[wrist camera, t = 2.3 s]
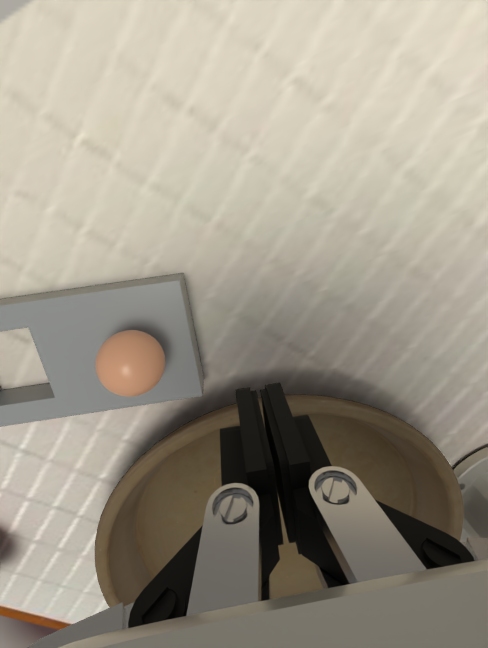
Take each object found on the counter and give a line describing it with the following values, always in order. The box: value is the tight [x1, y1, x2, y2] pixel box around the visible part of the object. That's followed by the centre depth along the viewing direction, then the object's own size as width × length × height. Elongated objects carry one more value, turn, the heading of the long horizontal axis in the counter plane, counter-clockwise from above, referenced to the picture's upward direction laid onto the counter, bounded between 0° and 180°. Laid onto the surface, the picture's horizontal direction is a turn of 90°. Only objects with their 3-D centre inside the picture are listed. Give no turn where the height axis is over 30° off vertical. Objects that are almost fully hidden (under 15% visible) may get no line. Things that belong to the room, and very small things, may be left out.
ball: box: [95, 330, 165, 397], centre depth 20 cm, size 4×4×4 cm
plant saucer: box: [95, 395, 464, 608], centre depth 29 cm, size 31×31×5 cm
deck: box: [0, 273, 204, 427], centre depth 23 cm, size 8×16×2 cm, turn 97°
